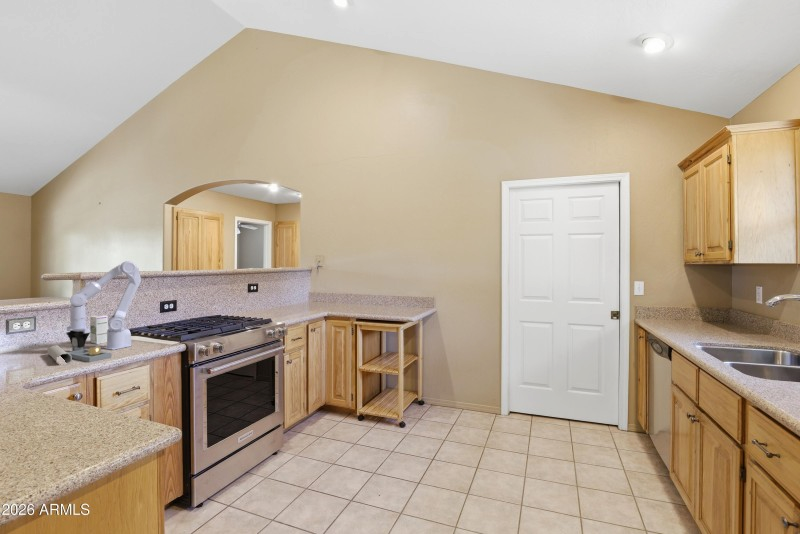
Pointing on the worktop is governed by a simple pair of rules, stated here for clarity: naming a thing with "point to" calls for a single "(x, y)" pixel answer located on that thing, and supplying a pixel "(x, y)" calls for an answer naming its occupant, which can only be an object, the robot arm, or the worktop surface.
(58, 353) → the tube
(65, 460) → the worktop surface
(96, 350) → the seated bushing
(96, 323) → the syrup box
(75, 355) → the jig
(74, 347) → the cylinder
